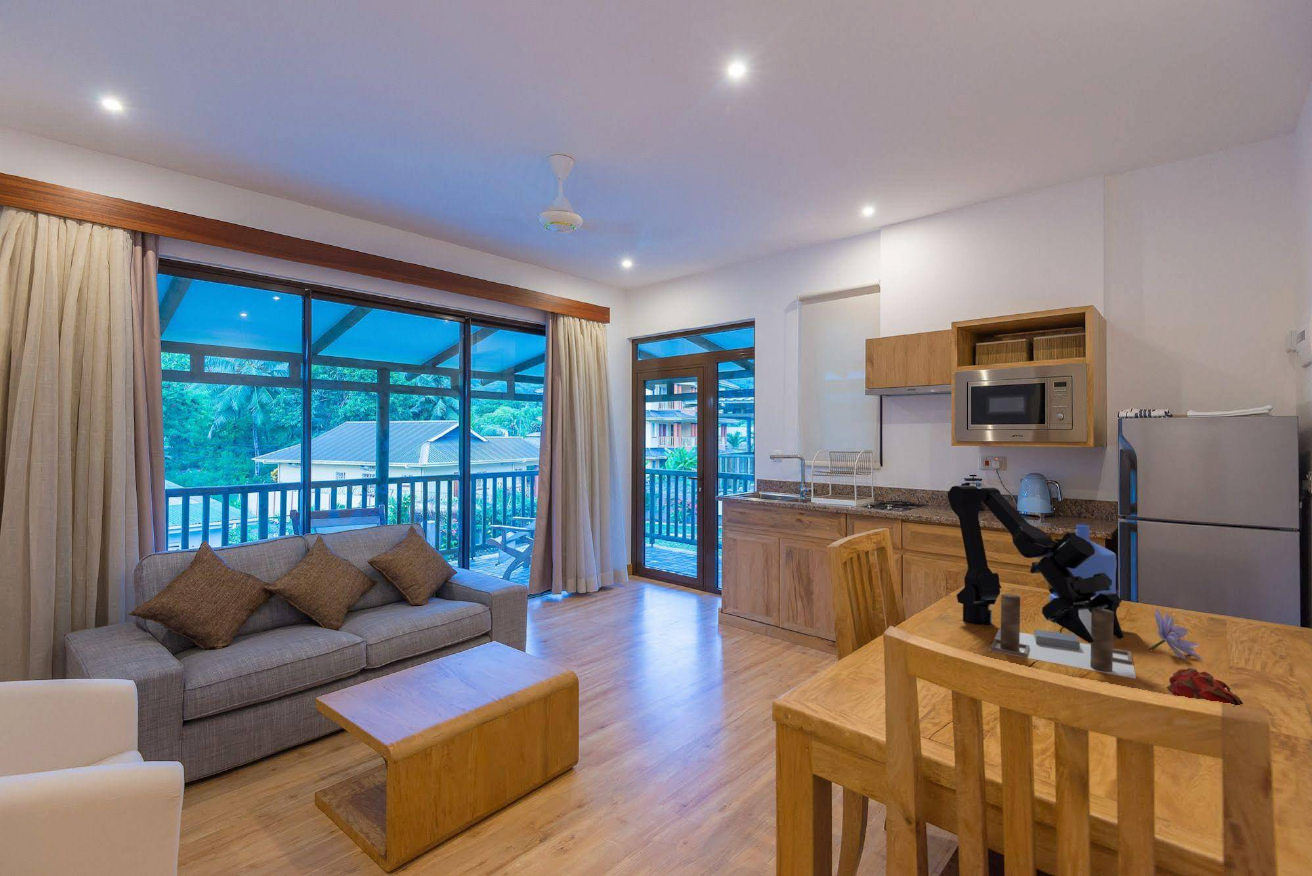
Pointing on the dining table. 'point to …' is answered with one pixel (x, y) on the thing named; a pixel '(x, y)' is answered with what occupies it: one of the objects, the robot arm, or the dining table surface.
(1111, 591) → the water jug
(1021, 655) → the board
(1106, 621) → the pin
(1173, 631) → the water lily
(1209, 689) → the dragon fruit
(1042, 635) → the cover
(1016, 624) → the pin
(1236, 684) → the dining table surface
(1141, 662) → the dining table surface
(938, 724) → the dining table surface
